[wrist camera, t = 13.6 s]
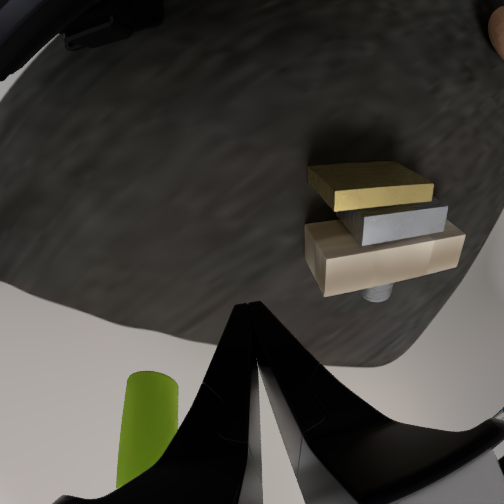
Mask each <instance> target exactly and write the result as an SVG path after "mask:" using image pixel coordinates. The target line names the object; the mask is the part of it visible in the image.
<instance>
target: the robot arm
mask: <svg viewBox="0 0 504 504" xmlns="http://www.w3.org/2000/svg"><path fill="white" fill-rule="evenodd" d="M154 16H159V19H158V20H157V21H152V18H153V17H154ZM163 20H164V11H163V0H0V81H4V80H5V79H6V78H7V77H8V76H9V75H10V74H13V73H14V72H16V71H17V70H19V69H20V68H22V67H23V66H24V65H25V64H26V63H27V62H28V61H29V60H30V59H31V58H32V57H33V56H34V55H35V54H36V53H37V52H38V51H39V50H40V49H41V48H42V47H43V46H45V45H46V44H47V43H48V42H49V41H50V40H51V39H52V38H54V37H55V36H56V35H57V34H58V33H59V34H63V35H64V40H65V48H66V49H67V50H69V51H75V50H78V49H81V48H83V47H90V48H96V47H99V46H102V45H105V44H108V43H111V42H115V41H118V40H121V39H125V38H129V37H130V36H131V35H132V34H133V32H134V31H137V30H141V29H145V28H150V27H154V26H158V25H160V24H161V23H162V22H163ZM71 43H73V44H75V45H74V46H73V47H71ZM256 357H257V358H256ZM257 362H258V365H257ZM258 367H259V370H260V374H261V377H262V380H263V383H264V386H265V389H266V392H267V395H268V398H269V401H270V404H271V407H272V410H273V413H274V416H275V419H276V422H277V425H278V428H279V430H280V433H281V436H282V439H283V442H284V445H285V447H286V450H287V453H288V456H289V459H290V462H291V465H292V467H293V470H294V473H295V476H296V478H297V482H298V484H299V487H300V490H301V492H302V495H303V498H304V501H305V503H306V504H504V456H503V457H501V458H500V459H499V460H498V459H497V457H496V455H495V453H494V451H493V448H494V447H496V446H497V445H498V444H499V443H501V442H502V441H503V440H504V420H500V419H496V418H490V419H488V420H486V421H484V422H483V423H481V424H479V425H478V426H476V427H475V428H473V429H471V430H467V431H461V432H451V431H444V430H437V429H431V428H425V427H419V426H414V425H409V424H404V423H400V422H397V421H394V420H392V419H390V418H388V417H386V416H385V415H383V414H382V413H380V412H379V411H378V410H376V409H375V408H373V407H372V406H371V405H369V404H368V403H367V402H365V401H364V400H363V399H361V398H360V397H359V396H357V395H356V394H355V393H353V392H352V391H350V390H349V389H348V388H347V387H346V386H345V385H343V384H342V383H341V382H339V381H338V380H337V379H336V378H335V377H334V376H333V375H332V374H331V373H330V372H329V371H328V370H327V369H326V368H325V367H324V366H323V365H322V364H320V362H319V361H318V360H317V359H316V358H315V357H314V356H313V355H312V354H311V353H310V352H309V351H308V350H307V349H306V348H305V347H304V346H303V345H302V344H301V343H300V342H299V341H298V339H297V338H296V337H295V336H294V335H293V334H292V333H291V332H290V331H289V330H288V329H287V328H286V327H285V326H284V325H283V324H282V323H281V322H280V321H279V320H278V319H277V318H276V317H275V315H274V314H273V313H272V312H271V311H270V310H269V309H268V308H267V307H266V306H265V305H264V304H263V303H262V302H261V301H256V302H250V303H248V304H247V303H243V304H236V305H235V306H234V308H233V310H232V312H231V315H230V317H229V320H228V322H227V324H226V327H225V329H224V332H223V334H222V336H221V339H220V341H219V344H218V346H217V348H216V351H215V353H214V356H213V358H212V360H211V363H210V365H209V368H208V370H207V372H206V375H205V377H204V380H203V383H202V384H201V386H200V389H199V391H198V393H197V396H196V398H195V400H194V402H193V404H192V406H191V408H190V410H189V412H188V413H187V415H186V417H185V419H184V421H183V422H182V424H181V426H180V427H179V429H178V430H177V432H176V434H175V435H174V437H173V439H172V440H171V442H170V443H169V445H168V447H167V448H166V450H165V451H164V453H163V454H162V456H161V457H160V458H159V460H158V461H157V462H156V463H155V464H154V465H153V466H151V467H150V468H149V469H147V470H146V471H144V472H143V473H141V474H140V475H138V476H137V477H135V478H134V479H132V480H131V481H129V482H128V483H126V484H124V485H123V486H121V487H120V488H118V489H117V490H115V491H113V492H112V493H110V494H108V495H106V496H104V497H101V498H97V499H83V498H79V497H74V496H69V495H63V496H61V497H60V498H58V499H57V500H56V501H55V502H54V503H53V504H263V491H262V463H261V462H262V461H261V433H260V407H259V379H258Z"/></svg>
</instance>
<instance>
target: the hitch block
mask: <svg viewBox="0 0 504 504" xmlns="http://www.w3.org/2000/svg"><path fill="white" fill-rule="evenodd" d="M465 235H466V234H464V233H463V232H462V231H461V230H459V229H458V228H457V227H456V226H454V225H453V224H452V223H451V222H449V221H448V220H447V219H446V221H445V226H444V231H443V232H438V233H432V234H427V235H421V236H416V237H410V238H404V239H399V240H393V241H388V242H382V243H376V244H371V245H365V246H362V245H361V244H360V243H359V242H358V241H357V239H356V238H355V237H354V236H353V235H352V233H351V232H350V231H349V230H348V229H347V227H346V226H345V225H344V224H343V223H342V222H341V220H332V221H324V222H317V223H309V224H305V260H306V262H307V264H308V266H309V268H310V269H311V271H312V273H313V275H314V277H315V279H316V281H317V283H318V285H319V287H320V290H321V292H322V294H323V296H324V297H327V296H332V295H337V294H342V293H347V292H352V291H357V290H361V289H366V288H371V287H375V286H380V285H384V284H389V283H393V282H397V281H402V280H406V279H410V278H414V277H419V276H423V275H427V274H431V273H435V272H439V271H442V270H446V269H450V268H454V267H457V264H458V261H459V257H460V254H461V250H462V247H463V243H464V239H465Z"/></svg>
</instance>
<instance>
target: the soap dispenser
mask: <svg viewBox="0 0 504 504" xmlns="http://www.w3.org/2000/svg"><path fill="white" fill-rule="evenodd" d="M177 430H178V385H177V383H176V382H175V381H174V380H173V379H172V378H171V377H169V376H167V375H165V374H162V373H158V372H154V371H140V372H136V373H133V374H132V375H130V376H129V378H128V381H127V387H126V394H125V401H124V408H123V417H122V424H121V433H120V443H119V453H118V467H117V482H116V488H117V489H118V488H120V487H121V486H123V485H124V484H126V483H128V482H129V481H131V480H132V479H134V478H135V477H137V476H138V475H140V474H141V473H143V472H144V471H146V470H147V469H149V468H150V467H151V466H153V465H154V464H155V463H156V462H157V461H158V460H159V458H160V457H161V456H162V454H163V453H164V451H165V450H166V448H167V447H168V445H169V443H170V442H171V440H172V439H173V437H174V435H175V434H176V432H177Z"/></svg>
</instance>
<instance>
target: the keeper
mask: <svg viewBox="0 0 504 504" xmlns="http://www.w3.org/2000/svg"><path fill="white" fill-rule="evenodd" d="M307 174H308V183H309V184H310V186H311V187H312V188H313V189H314V190H315V191H316V192H317V193H318V194H319V195H320V196H321V197H322V199H323V200H324V201H325V202H326V203H327V204H328V205H329V206H330V207H331V209H332V210H333V211H334V212H337V211H345V210H353V209H362V208H371V207H380V206H389V205H398V204H408V203H418V202H428V201H432V195H433V187H434V183H432V182H430V181H429V180H427V179H425V178H424V177H422V176H420V175H418V174H417V173H415V172H413V171H411V170H410V169H408V168H406V167H404V166H402V165H401V164H399V163H397V162H395V161H378V162H357V163H341V164H327V165H314V166H307Z"/></svg>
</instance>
